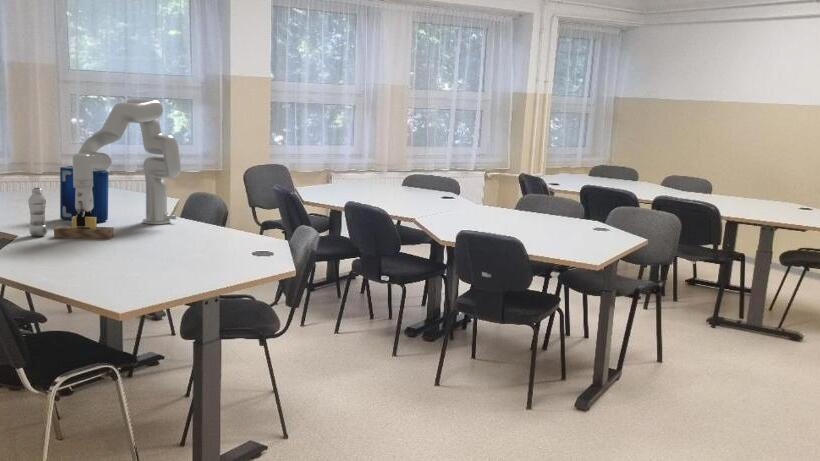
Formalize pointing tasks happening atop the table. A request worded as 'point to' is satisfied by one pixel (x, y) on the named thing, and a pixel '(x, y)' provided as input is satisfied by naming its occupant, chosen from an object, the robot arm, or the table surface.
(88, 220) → the yellow notched flat block
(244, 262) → the table surface
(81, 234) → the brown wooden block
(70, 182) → the book
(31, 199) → the plastic bottle
